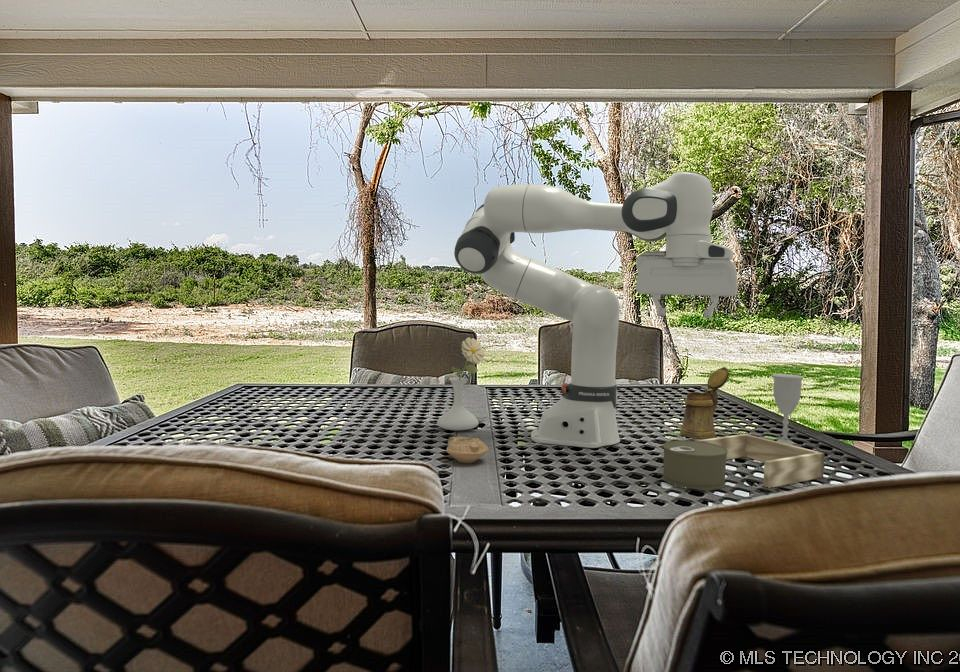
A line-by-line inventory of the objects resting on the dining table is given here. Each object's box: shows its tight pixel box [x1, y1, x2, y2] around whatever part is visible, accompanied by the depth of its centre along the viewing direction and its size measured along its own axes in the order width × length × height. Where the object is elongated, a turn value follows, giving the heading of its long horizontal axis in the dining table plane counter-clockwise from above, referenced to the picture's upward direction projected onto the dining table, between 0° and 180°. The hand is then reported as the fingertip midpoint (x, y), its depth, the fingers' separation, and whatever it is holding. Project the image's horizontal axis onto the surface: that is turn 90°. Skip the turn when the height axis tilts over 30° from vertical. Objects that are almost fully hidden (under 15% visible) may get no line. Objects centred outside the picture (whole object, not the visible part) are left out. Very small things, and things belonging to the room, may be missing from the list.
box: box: [695, 433, 825, 489], centre depth 128 cm, size 17×19×5 cm
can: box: [662, 439, 727, 491], centre depth 119 cm, size 12×12×7 cm
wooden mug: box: [679, 366, 730, 440], centre depth 161 cm, size 9×14×18 cm, turn 114°
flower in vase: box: [436, 337, 486, 431], centre depth 163 cm, size 13×11×25 cm
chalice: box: [772, 373, 804, 446], centre depth 145 cm, size 7×7×18 cm
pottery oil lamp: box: [446, 436, 489, 464], centre depth 133 cm, size 9×12×7 cm
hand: (684, 317), depth 127 cm, fingers open, 8 cm apart
